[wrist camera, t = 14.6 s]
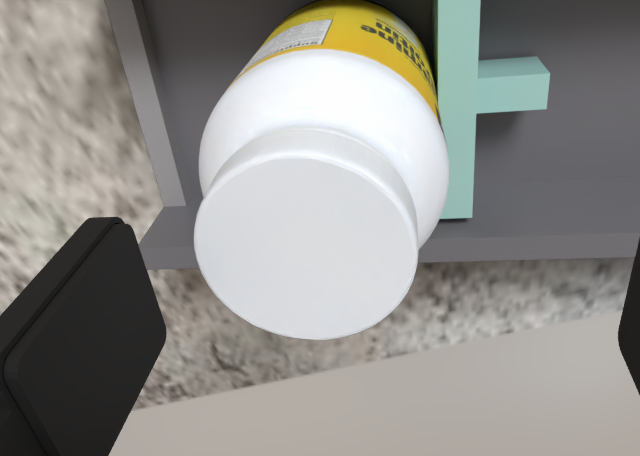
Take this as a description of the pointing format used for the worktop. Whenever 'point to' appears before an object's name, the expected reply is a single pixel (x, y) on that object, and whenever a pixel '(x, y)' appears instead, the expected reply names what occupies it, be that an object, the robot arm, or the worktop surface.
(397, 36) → the pill bottle
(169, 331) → the worktop surface
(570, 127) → the tray
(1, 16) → the worktop surface
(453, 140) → the pusher paddle
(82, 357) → the robot arm
